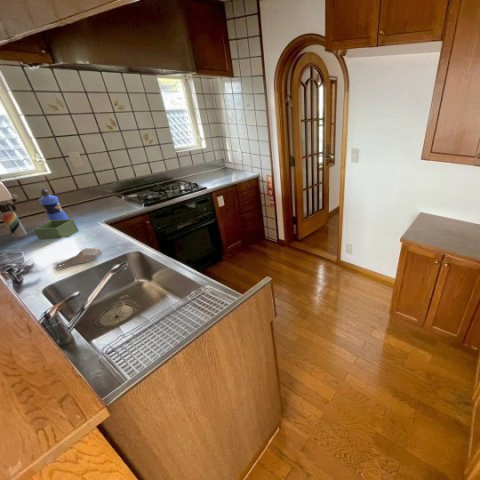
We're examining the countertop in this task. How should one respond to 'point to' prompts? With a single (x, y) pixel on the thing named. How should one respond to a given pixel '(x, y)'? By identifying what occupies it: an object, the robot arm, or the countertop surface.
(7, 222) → the lotion bottle
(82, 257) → the tan elongated piece
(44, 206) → the water bottle
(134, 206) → the countertop surface
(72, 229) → the bin
